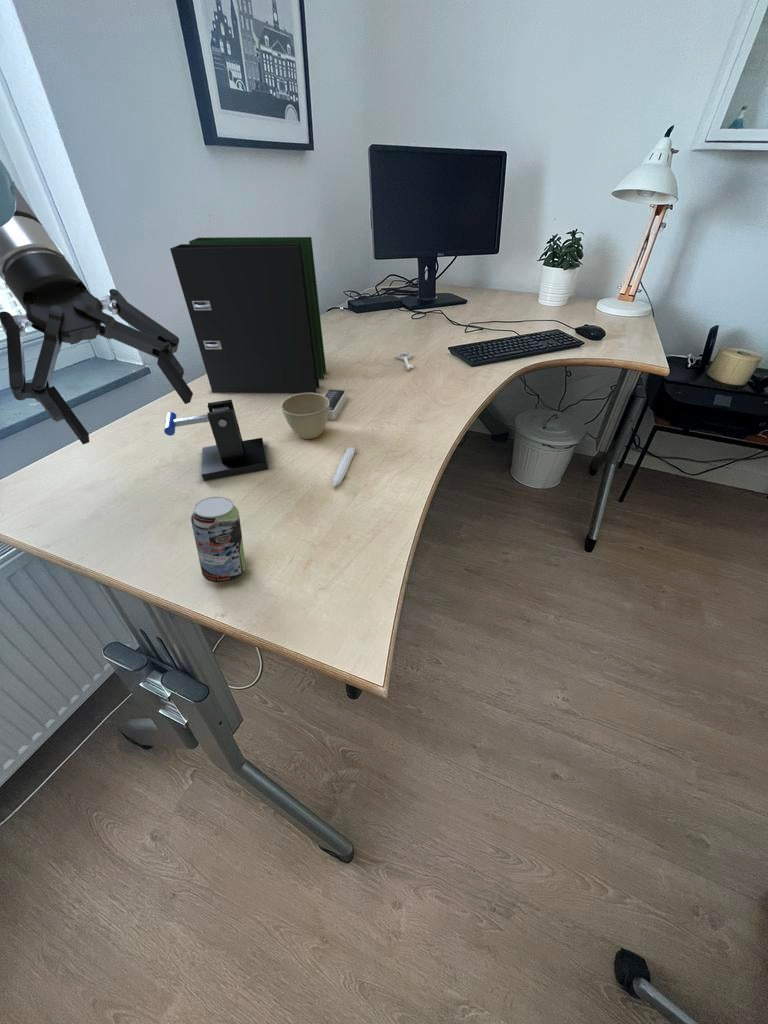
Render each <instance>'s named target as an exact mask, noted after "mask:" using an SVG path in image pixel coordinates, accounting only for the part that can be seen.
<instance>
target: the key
mask: <svg viewBox="0 0 768 1024" xmlns="http://www.w3.org/2000/svg"><path fill="white" fill-rule="evenodd" d="M396 358H397V359H399V360H404V364H405V368H406V370H407V371H410V369H414V366H413V364H412V363H411V364H409V361H408V360H410V359H411V358H412V353H410V352H405V351H402V352H398V353H397V355H396Z"/></svg>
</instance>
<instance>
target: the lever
mask: <svg viewBox="0 0 768 1024" xmlns="http://www.w3.org/2000/svg"><path fill="white" fill-rule="evenodd" d="M228 409H229V407H228V406H227V407H220V408H213V412H214V411H221V410H228ZM177 417H178V416H177V414H176V413H175V412H173V411H169V412H168V413H167V414H166V417H165V424H164V429H163V432H164V434H165V435H166V436H169V437H170V436H174V435H175V433H176V428H177V427H184V426H189V425H195V424H203V423H209V419H208V416H207V413H206V414H200V415H193V416H187V417H181V418H177Z"/></svg>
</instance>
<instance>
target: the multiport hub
mask: <svg viewBox="0 0 768 1024" xmlns="http://www.w3.org/2000/svg"><path fill="white" fill-rule="evenodd" d="M324 396H325V397H327V398H328V399H329V414H328V418H327V421H335V420H336V419H337V418H338V416H339V414H340V412H341V411H342V409H343V407H344V405H345V404H346V402H347V390H344V389H342V390H341V389H328V390H327V391H326V393H325V394H324Z"/></svg>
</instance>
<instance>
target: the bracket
mask: <svg viewBox="0 0 768 1024" xmlns="http://www.w3.org/2000/svg"><path fill="white" fill-rule="evenodd" d="M206 405H207V409H208V412H206V414H207V416H208V419H209V422H208V423H209V425H210V429H211V432H212V435H213V438H214V441H215V445H209V446H203V447H201V448H202V449H201V477H202V480H203V481H204V482H205V481H211V480H215V479H221V478H226V477H227V478H228V477H232V476H233V477H234V476H238V475H243V474H249V473H254V472H260V471H265V470H269V465H268V461H267V460H268V459H267V455H266V449H265V444H264V439H263V437H257V438H252V439H246V440H243V437H242V433H241V429H240V426H239V422H238V418H237V414H236V411H235V407H234V403H233V399H225V400H219V401H212V402H207V403H206ZM227 406H228V407H229V409H228V410H221V411H214V412H213V408H220V407H227Z"/></svg>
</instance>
